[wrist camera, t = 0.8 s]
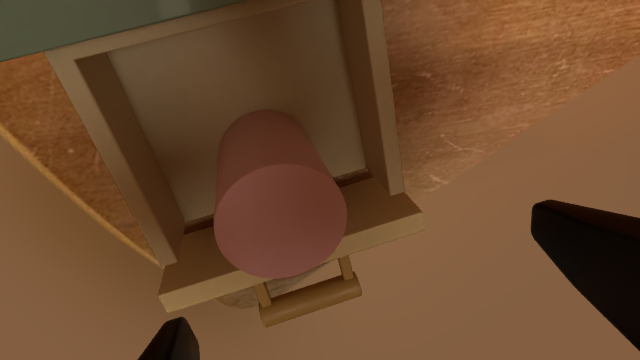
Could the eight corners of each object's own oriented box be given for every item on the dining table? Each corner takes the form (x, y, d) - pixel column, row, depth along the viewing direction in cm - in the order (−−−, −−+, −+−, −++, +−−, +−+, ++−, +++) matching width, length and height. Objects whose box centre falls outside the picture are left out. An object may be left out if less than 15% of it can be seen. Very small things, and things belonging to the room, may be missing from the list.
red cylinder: (319, 181, 21) (357, 256, 15) (236, 206, 20) (239, 294, 14) (299, 98, 19) (333, 146, 12) (204, 124, 18) (192, 188, 12)
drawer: (398, 247, 26) (431, 296, 21) (207, 309, 24) (202, 374, 20) (356, -35, 18) (397, -46, 13) (68, 36, 16) (12, 48, 12)
